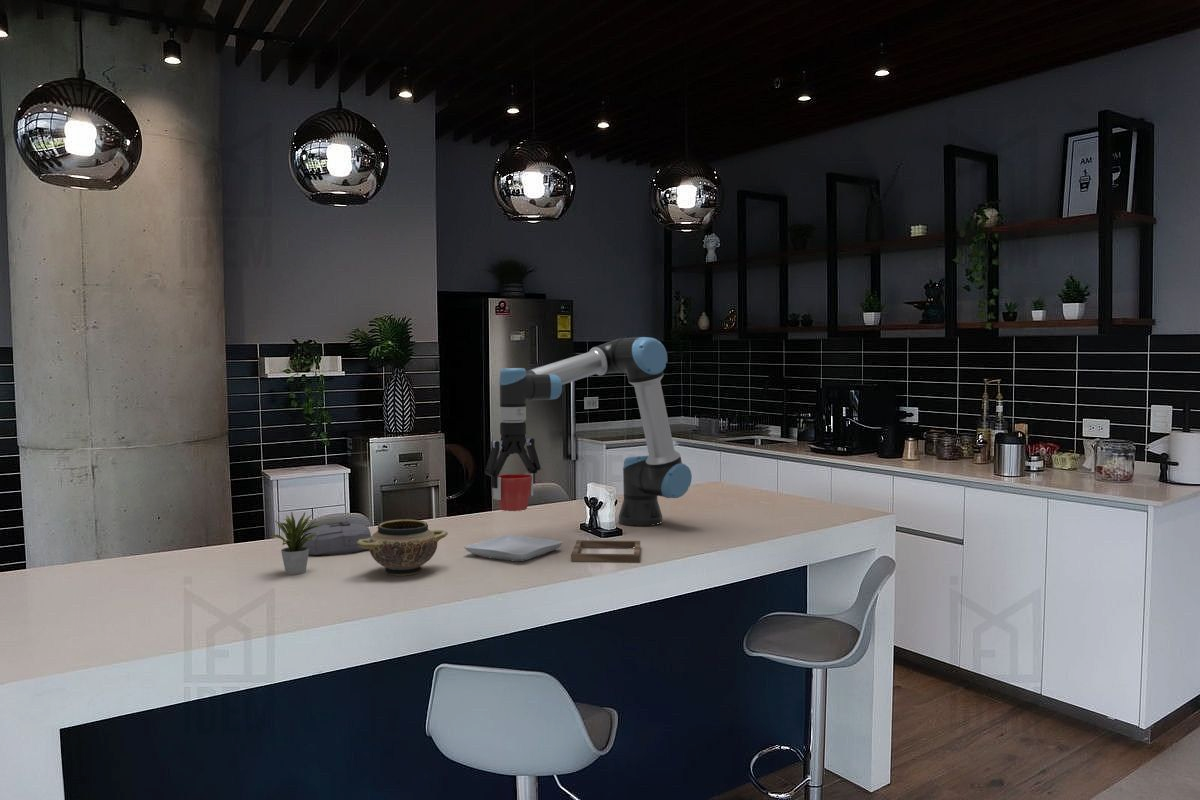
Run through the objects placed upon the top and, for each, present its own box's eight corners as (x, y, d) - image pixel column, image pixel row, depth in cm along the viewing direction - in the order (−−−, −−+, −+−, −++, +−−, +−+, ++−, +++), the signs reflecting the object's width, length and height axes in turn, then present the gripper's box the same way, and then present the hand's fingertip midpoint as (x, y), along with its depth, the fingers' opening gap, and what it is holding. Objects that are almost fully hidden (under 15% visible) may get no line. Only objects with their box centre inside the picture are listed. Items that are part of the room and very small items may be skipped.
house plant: (312, 580, 222) (311, 517, 221) (259, 580, 223) (257, 517, 222) (330, 566, 236) (329, 507, 236) (280, 566, 237) (279, 507, 236)
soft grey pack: (363, 542, 268) (295, 550, 258) (362, 516, 268) (295, 522, 258) (376, 552, 255) (305, 560, 245) (375, 524, 255) (305, 531, 245)
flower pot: (498, 505, 257) (498, 473, 257) (535, 506, 256) (535, 473, 256) (490, 512, 247) (490, 478, 246) (528, 512, 246) (528, 478, 245)
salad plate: (506, 544, 267) (506, 533, 266) (564, 551, 256) (564, 540, 256) (462, 557, 248) (462, 545, 248) (522, 566, 238) (522, 554, 237)
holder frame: (576, 546, 261) (576, 540, 260) (640, 547, 259) (640, 540, 259) (571, 561, 242) (570, 554, 241) (639, 562, 240) (639, 555, 240)
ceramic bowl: (362, 593, 219) (365, 539, 215) (347, 562, 234) (350, 511, 230) (455, 582, 231) (459, 530, 227) (436, 552, 246) (439, 504, 242)
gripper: (486, 424, 240) (487, 503, 241) (552, 420, 255) (553, 494, 256) (471, 422, 245) (472, 499, 246) (537, 418, 261) (537, 491, 262)
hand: (513, 497), depth 251 cm, fingers closed on flower pot, 11 cm apart
